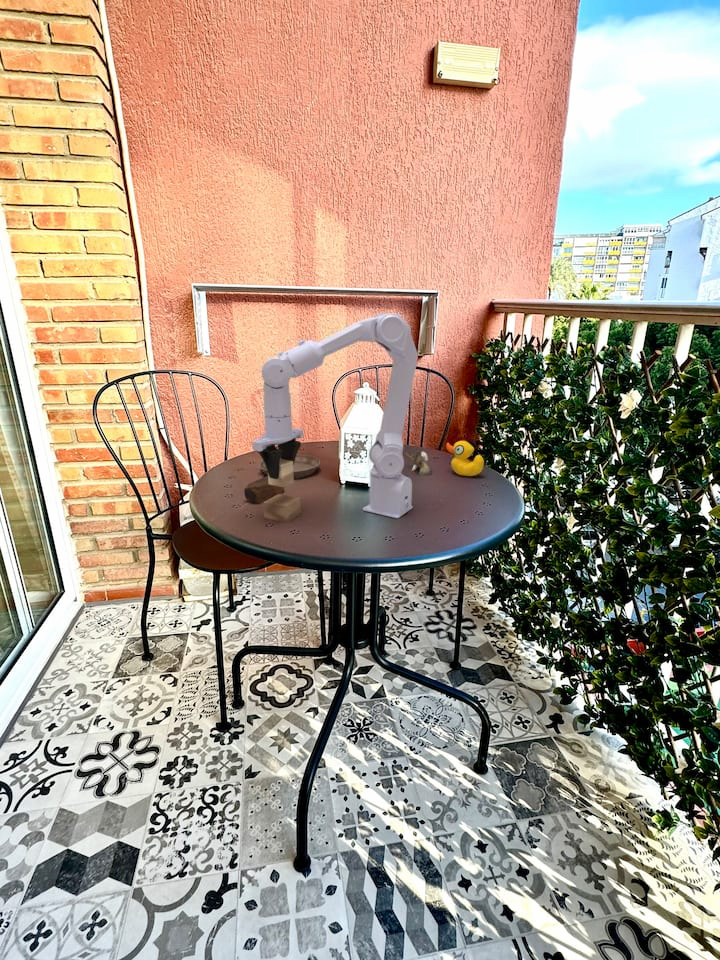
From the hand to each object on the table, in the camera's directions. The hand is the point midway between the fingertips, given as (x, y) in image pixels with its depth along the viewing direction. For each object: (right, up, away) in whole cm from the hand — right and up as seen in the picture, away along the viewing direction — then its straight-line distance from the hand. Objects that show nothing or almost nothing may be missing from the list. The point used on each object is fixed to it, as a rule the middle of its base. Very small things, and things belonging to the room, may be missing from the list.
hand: (280, 475), depth 110 cm
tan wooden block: (0, -9, +3) cm, 10 cm away
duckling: (+48, 0, +32) cm, 58 cm away
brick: (-6, -6, +15) cm, 17 cm away
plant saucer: (-3, +1, +35) cm, 35 cm away
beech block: (0, -2, +1) cm, 2 cm away
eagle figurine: (+35, +1, +36) cm, 50 cm away
